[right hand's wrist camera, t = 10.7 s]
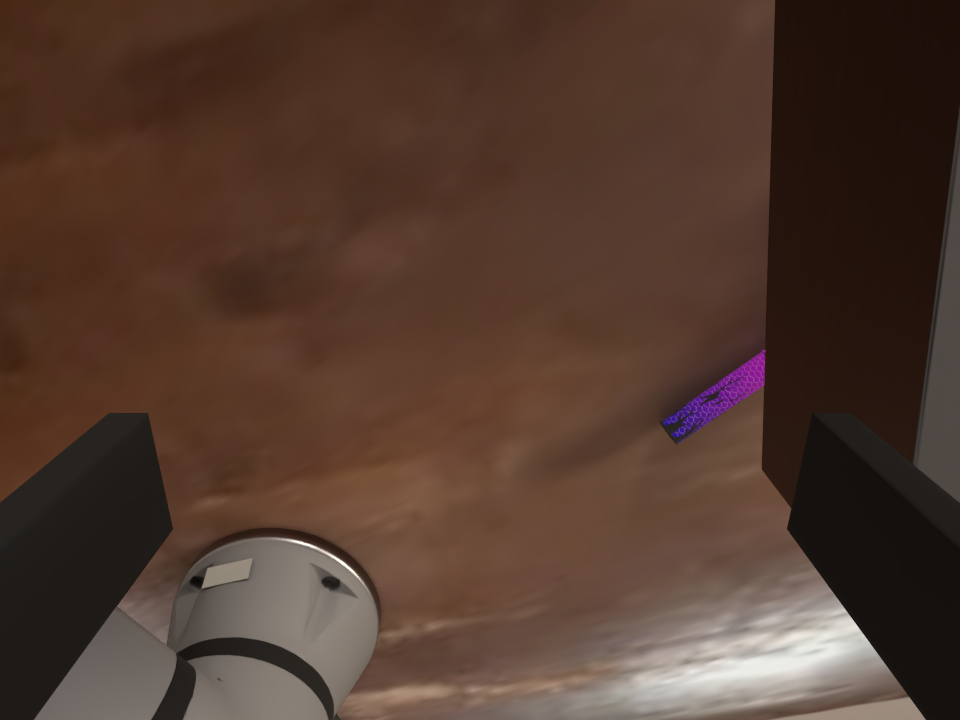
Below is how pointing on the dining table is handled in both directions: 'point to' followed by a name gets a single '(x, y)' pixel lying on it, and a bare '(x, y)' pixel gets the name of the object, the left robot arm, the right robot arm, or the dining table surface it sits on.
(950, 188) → the bar
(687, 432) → the handgun
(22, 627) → the right robot arm
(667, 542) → the dining table surface
